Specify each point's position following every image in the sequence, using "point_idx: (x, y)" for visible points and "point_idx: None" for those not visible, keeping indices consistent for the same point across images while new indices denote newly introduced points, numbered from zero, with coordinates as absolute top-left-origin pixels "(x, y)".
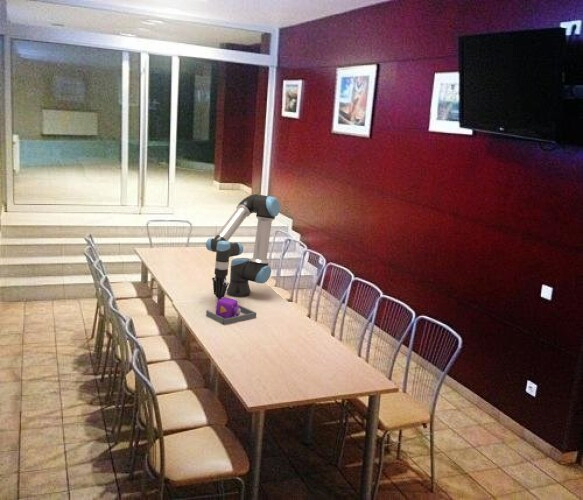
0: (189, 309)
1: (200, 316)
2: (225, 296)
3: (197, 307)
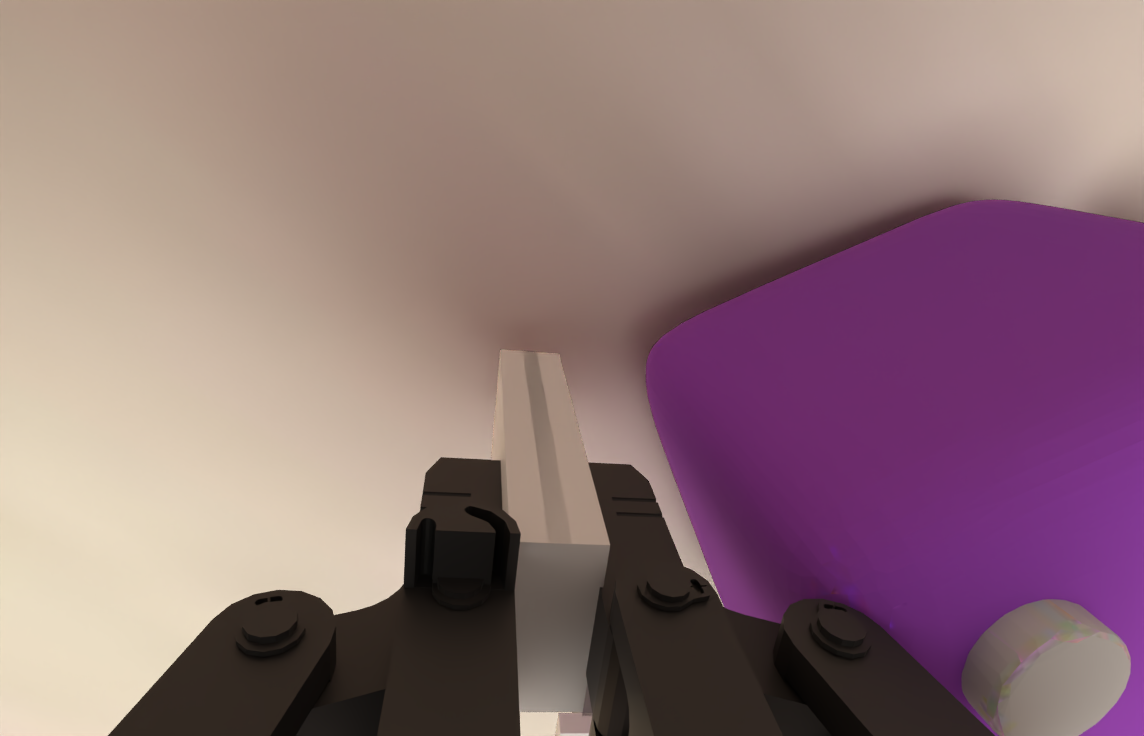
0: (73, 696)
1: (527, 732)
2: (1023, 697)
3: (4, 523)
